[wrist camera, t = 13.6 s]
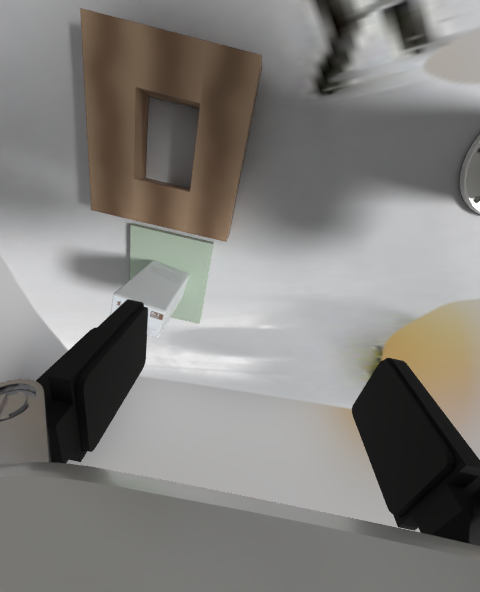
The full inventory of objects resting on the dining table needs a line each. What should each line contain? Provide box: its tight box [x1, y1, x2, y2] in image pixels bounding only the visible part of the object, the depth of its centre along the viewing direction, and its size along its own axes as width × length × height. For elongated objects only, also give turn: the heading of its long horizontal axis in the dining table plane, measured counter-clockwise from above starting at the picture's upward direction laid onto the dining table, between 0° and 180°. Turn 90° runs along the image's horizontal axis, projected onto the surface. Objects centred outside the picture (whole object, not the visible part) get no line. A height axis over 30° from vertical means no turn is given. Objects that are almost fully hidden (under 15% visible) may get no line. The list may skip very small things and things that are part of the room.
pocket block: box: [80, 8, 262, 242], centre depth 30 cm, size 18×19×4 cm
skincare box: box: [111, 261, 189, 338], centre depth 33 cm, size 6×4×12 cm
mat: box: [130, 224, 214, 323], centre depth 39 cm, size 12×14×1 cm
